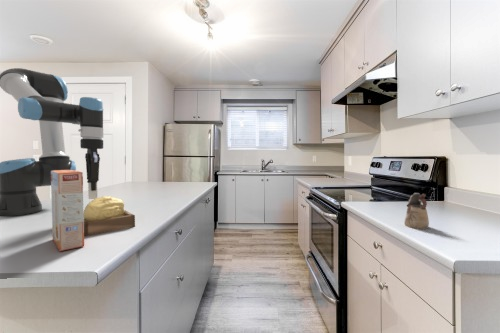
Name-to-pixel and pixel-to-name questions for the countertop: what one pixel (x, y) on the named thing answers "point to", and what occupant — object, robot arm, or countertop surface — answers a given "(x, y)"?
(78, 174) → the cracker box
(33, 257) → the countertop surface
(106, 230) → the frame
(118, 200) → the sculpture
